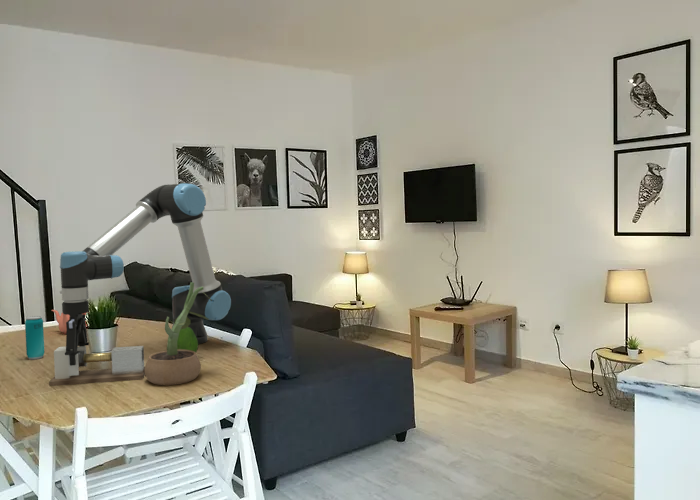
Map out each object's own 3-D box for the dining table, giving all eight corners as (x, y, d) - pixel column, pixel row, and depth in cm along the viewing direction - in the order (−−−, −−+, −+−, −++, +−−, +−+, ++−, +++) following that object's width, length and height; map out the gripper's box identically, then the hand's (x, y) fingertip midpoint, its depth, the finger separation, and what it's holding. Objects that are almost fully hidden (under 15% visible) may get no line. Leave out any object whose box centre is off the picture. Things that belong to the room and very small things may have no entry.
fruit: (186, 355, 209) (186, 322, 208) (202, 357, 205) (201, 324, 204) (170, 360, 202) (169, 326, 201) (186, 362, 198) (185, 328, 197)
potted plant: (160, 391, 166) (157, 289, 164) (136, 378, 179) (132, 284, 178) (228, 375, 181) (226, 282, 179) (201, 365, 195) (198, 278, 193)
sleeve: (144, 368, 186) (143, 345, 185) (142, 372, 181) (141, 349, 181) (115, 370, 184) (114, 347, 184) (112, 374, 179) (111, 350, 179)
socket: (74, 376, 182) (72, 346, 181) (69, 382, 176) (67, 350, 175) (60, 377, 181) (59, 346, 180) (55, 383, 175) (53, 351, 175)
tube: (126, 361, 185) (125, 346, 184) (123, 365, 180) (123, 349, 180) (63, 365, 181) (62, 350, 180) (58, 369, 176) (58, 353, 175)
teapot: (63, 336, 243) (61, 311, 242) (52, 332, 253) (50, 307, 252) (97, 331, 253) (96, 307, 252) (85, 327, 263) (84, 304, 263)
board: (147, 369, 189) (147, 366, 189) (142, 379, 178) (142, 375, 178) (59, 375, 183) (59, 372, 183) (49, 385, 173) (49, 381, 172)
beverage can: (48, 356, 208) (46, 316, 207) (33, 360, 203) (31, 319, 202) (37, 355, 211) (35, 315, 210) (23, 359, 205) (21, 318, 204)
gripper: (71, 296, 188) (74, 362, 189) (51, 306, 166) (55, 381, 168) (95, 295, 190) (98, 360, 191) (79, 305, 168) (82, 379, 169)
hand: (78, 370), depth 179 cm, fingers open, 10 cm apart
